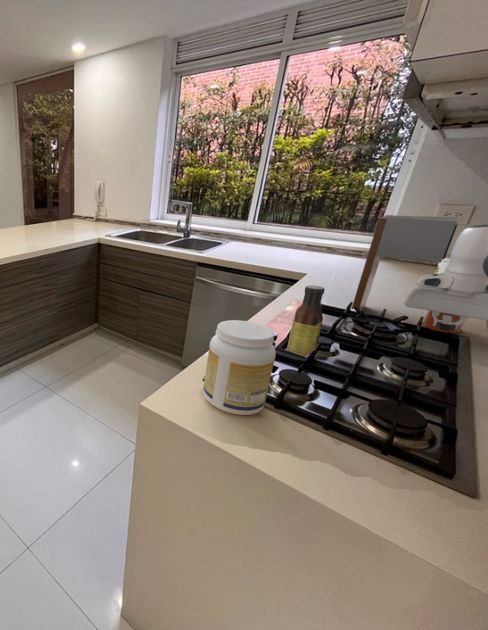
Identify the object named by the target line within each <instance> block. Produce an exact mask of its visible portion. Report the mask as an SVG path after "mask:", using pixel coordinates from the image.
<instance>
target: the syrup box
mask: <svg viewBox="0 0 488 630" xmlns="http://www.w3.org/2000/svg"><path fill="white" fill-rule="evenodd" d="M449 262H450V257H445V259H442V262H441V263H438V265H437V267H436V269H435V272H434V274H439V273H443V272H444V270H445V268H446V267H447V265H448V264H449Z"/></svg>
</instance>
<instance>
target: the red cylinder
mask: <svg viewBox="0 0 488 630" xmlns="http://www.w3.org/2000/svg"><path fill="white" fill-rule="evenodd" d="M432 312H433V311H429V310H427V312H426V315H425V318H424V320H423V322H422V325H423V327H424V328H427V329H430V330H432V331H437V332H443V333H448V334H449V333H450V334H457V333H460V332H461V330H462V327H463V326H464V323H462V324H461V325H459V326H458V329H457V330H451V329H450V328H451V326H452V322H453V323H456V322H458V321H459V320H460V316H458V315H452V314H447V313H441V312H440V313H439V315H438V316H437V318H438V320H442V323H441V325H440V327H436V326H433V324H434V318H433V316H432Z"/></svg>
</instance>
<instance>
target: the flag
mask: <svg viewBox="0 0 488 630" xmlns="http://www.w3.org/2000/svg"><path fill="white" fill-rule="evenodd" d="M458 225H459V224H458V217H453V216H450V217H449V216H424V215H423V216H422V215H396V214H395V215H394V214H386V215H384V216H381V217H379V218H378V220H377V222H376V226H375V230H374V233H373V236H372V240H371V244H370V246H369V249H368V253H367V255H366V259H365V263H364V266H363V270H362V273H361V276H360V279H359V282H358V286H357V289H356V293H355V296H354V299H353V302H352V305H351V309H353V308H354V307H357V308H359V309H361V310H362V311H363V310H364V309H365V308H366V305H367V303H368V299H369V296H370V292H371V290H372V286H373V284H374V280H375V276H376V274H377V270H378V267H379V264H380V261H381V258H389V259H397V260H399V259H400V260H410V261H419V262H429V263H430V262H431V263H438V264H439V263H441V262H442V259H445V258H446V256H447V255H448V254H447V253H448V251H449V248H450V246H451V243H452V241H453V238H454V236H455V234H456V231H457V228H458Z"/></svg>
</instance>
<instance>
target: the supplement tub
mask: <svg viewBox="0 0 488 630" xmlns="http://www.w3.org/2000/svg"><path fill="white" fill-rule="evenodd" d="M274 338H275V332H274V330H272V329H271V328H270V327H268V326H265V325H264V324H260V323H257V322H253V321H249V320H248V321H247V320H241V319H239V320H238V319H230V320H229V319H228V320H224V321H220V322H219V323H218V324H217V327H216V330H215V335H214V336H212V338H211V339H210V342H209V347H208V354H207V361H206V367H205V375H204V381H203V388H202V389H203V395H204V397H205V399H206V400H207V402H209V403H210V404H211V405H212V406H213V407H215V408H217V409H219V410H221V411H223V412H225V413H229V414H233V415H239V416H250V415H255V414H257V413H259V412H261V411H262V410H263V409H264V406H265V404H266V399H267V395H268V391H269V387H270V382H271V377H272V373H273V368H274V365H275V360H276V357H277V356H276V353H277V352H276V348H275V346H274V345H273V344H274V342H275V339H274Z"/></svg>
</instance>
